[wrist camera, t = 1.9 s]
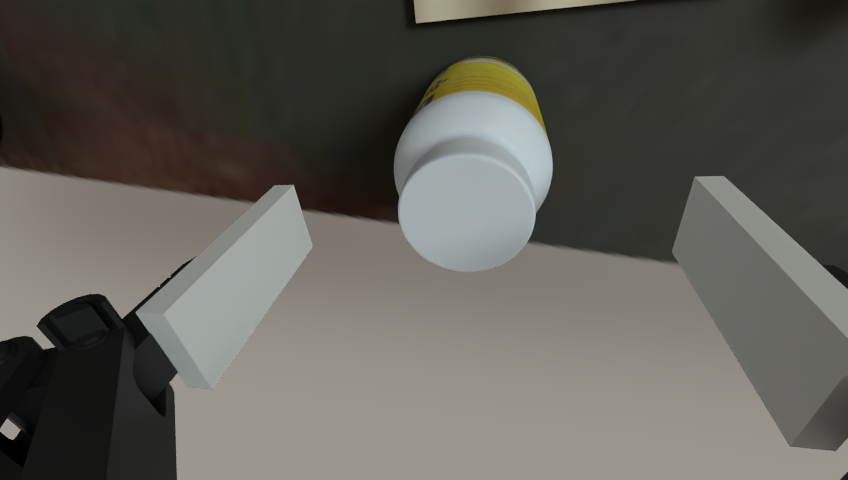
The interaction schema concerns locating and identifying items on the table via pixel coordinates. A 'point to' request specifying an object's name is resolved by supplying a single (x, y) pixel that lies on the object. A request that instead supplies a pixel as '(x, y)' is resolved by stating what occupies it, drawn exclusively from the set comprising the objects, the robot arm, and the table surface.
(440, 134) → the pill bottle
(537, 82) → the table surface
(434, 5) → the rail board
